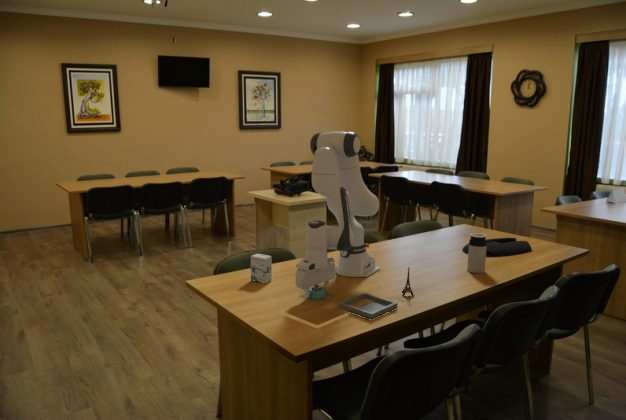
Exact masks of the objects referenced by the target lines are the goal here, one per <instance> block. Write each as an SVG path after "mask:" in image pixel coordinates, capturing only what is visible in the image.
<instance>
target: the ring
mask: <svg viewBox="0 0 626 420" xmlns="http://www.w3.org/2000/svg"><path fill="white" fill-rule="evenodd" d="M309 292H310V293H311V297H310V298H312V299H321V298H324V296H325V293H326V291H325V289H324V288H323V286H319V291H314V286H311V287H309Z"/></svg>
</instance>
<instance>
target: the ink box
mask: <svg viewBox="0 0 626 420" xmlns="http://www.w3.org/2000/svg"><path fill="white" fill-rule="evenodd" d="M272 258H273V257H272V256H271V255H267V254H263V253H255V254H252V255H251V256H250V281H251V280H255V281H259V282H264V283H266V282H269V281H271V280H272V275H273V274H272V266H273V264H272ZM255 281H254V282H255ZM259 282H258V283H259ZM271 282H272V281H271ZM264 283H263V284H264ZM269 283H270V282H269ZM266 284H267V283H266Z"/></svg>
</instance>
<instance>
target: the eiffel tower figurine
mask: <svg viewBox="0 0 626 420" xmlns="http://www.w3.org/2000/svg"><path fill="white" fill-rule="evenodd" d="M406 277H407V279H406V282H405V286H404V288H403V289H402V290H403V291H402V293H403V295H402V296H404V295H405V293H411V295H412V297H411V298H415V297H414V296H415V294H414V295H413V293H414V291H413V288H412V287H411V284H410V283H411V282H410V267H408V268H407V276H406ZM411 288H412V289H411Z"/></svg>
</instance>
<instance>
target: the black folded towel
mask: <svg viewBox="0 0 626 420" xmlns="http://www.w3.org/2000/svg"><path fill="white" fill-rule="evenodd" d="M486 242H487V246H486V258H488V257H492V258H498V257H509V256H510V257H511V256H515V255H522V254H526V253H530V252H532V246H531V244H530V243H529V241H527V240H517V238H516V237H496V238H488V239H486ZM462 252H463V253H465V254H467V255H468V252H469V243H467V244H466V245H464V246H463V248H462Z"/></svg>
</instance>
